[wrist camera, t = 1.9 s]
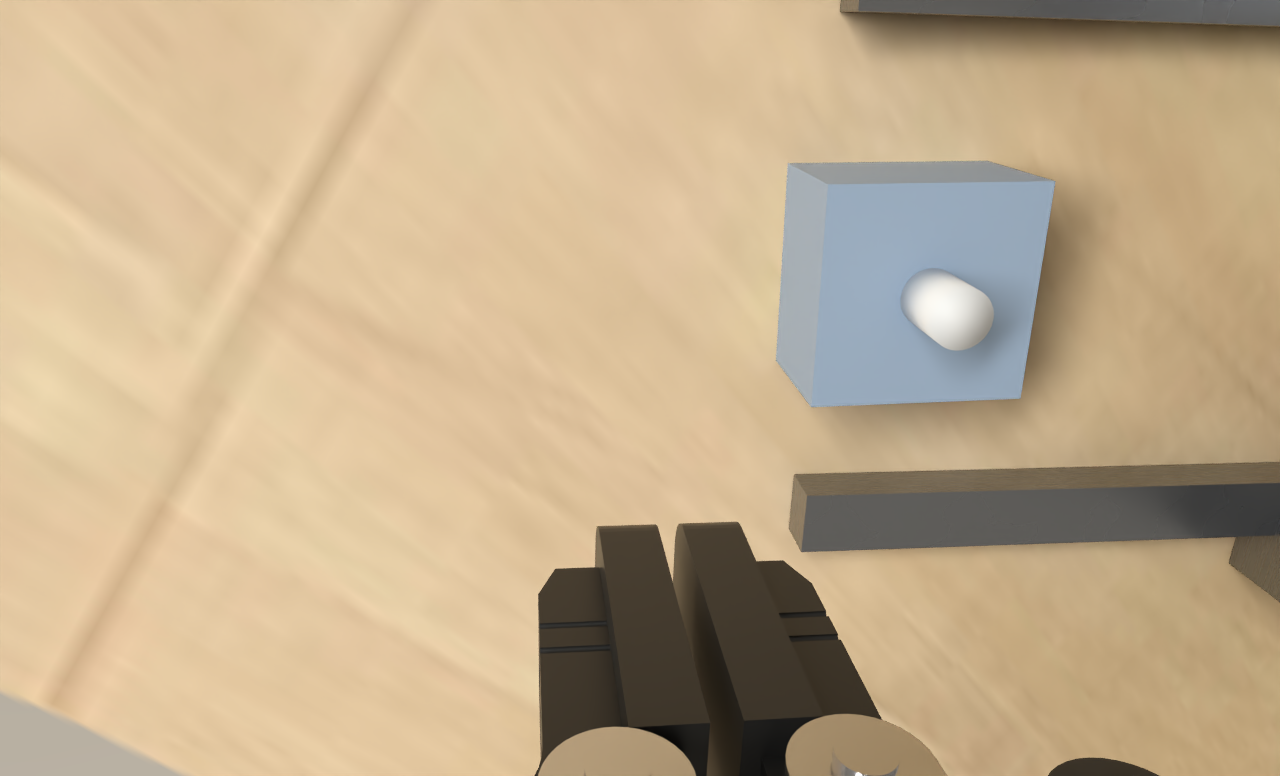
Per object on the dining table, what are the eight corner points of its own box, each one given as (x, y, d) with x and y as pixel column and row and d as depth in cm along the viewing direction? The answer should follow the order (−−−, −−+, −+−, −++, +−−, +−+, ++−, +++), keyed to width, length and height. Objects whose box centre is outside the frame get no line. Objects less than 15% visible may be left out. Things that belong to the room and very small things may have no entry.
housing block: (786, 162, 27) (854, 198, 22) (984, 160, 28) (1099, 194, 22) (774, 358, 29) (833, 437, 24) (958, 352, 30) (1058, 426, 24)
